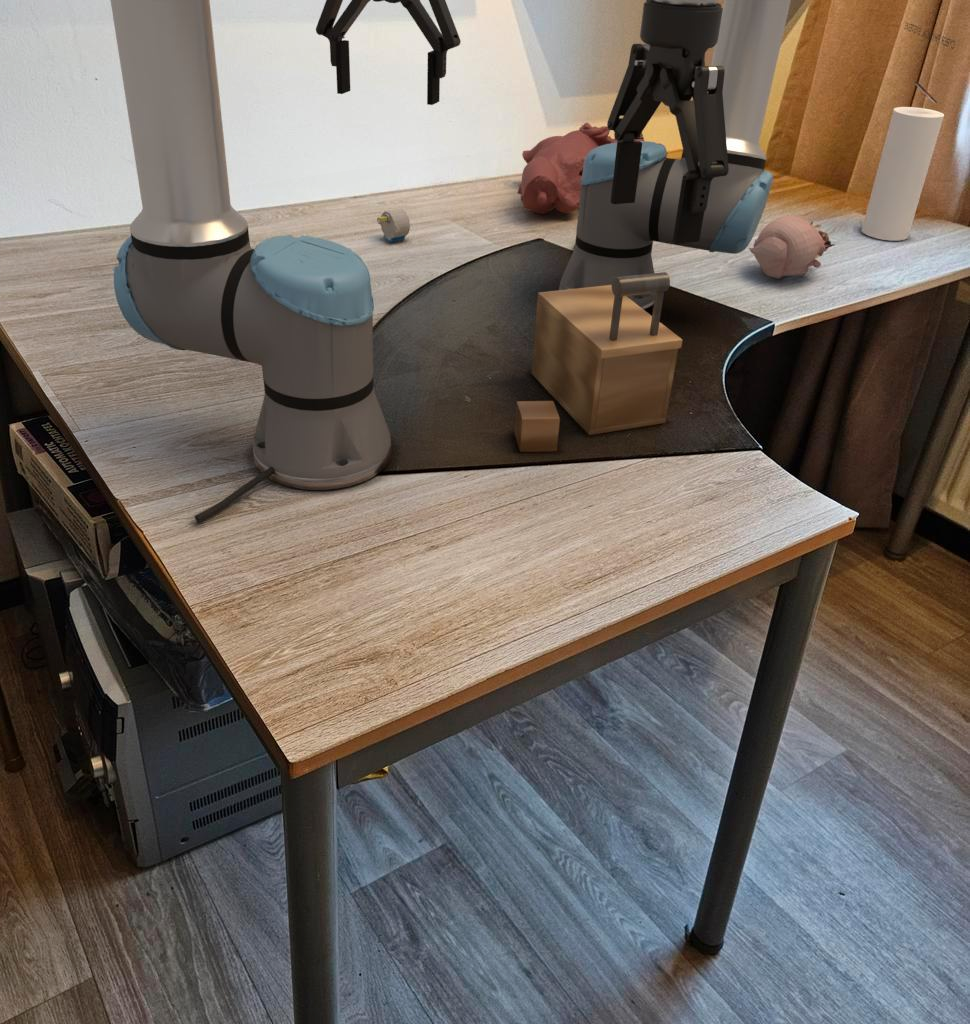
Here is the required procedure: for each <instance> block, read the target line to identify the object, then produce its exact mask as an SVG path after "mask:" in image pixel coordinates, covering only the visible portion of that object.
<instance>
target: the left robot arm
mask: <svg viewBox="0 0 970 1024" xmlns="http://www.w3.org/2000/svg"><path fill="white" fill-rule="evenodd" d="M343 1H344V0H325V3H324V5H323V8H322V11H321V13H320V16H319V19H318V22H317V24H316V27H315V33H316V34H317V35H318V36H323V37H324V38H326V39H327V40H328V42H329V54H330V56H329V57H330V65H331V67H335V70H336V71H335V72H336V94H339V95H343V94H346V93H349V92H351V67H350V66H351V63H350V41H349V40H345V38H346V36H345V35H347V33H348V31H349V30H350V29H351V27H352V26H353V24H354V23H355V21H356V20H357V19H358V18H359V16H360V14H361V13H362V12H363V10H364V9H365V8H366V6H367V5H368V4H369V3H370V2H371V1H372V2H377V3H380V2H384V1H385V2H387V3H389V4H398V3H400V4H401V5H402V7H403V8H405V9H406V10H407V12H408V13H409V15H410V17H411V18H412V20H413V21H414V22H415V24H416V26H417V27H418V29H419V31H420V32H421V33H422V35H423V36H424V38H425V39H426V40H427V43H428V44H429V46H430V47H431V48H432V50H431V51H428V52H427V74H426V75H427V79H426V80H427V85H426V87H427V88H426V105H429V106H433V105H435V104H438V103H440V93H441V92H440V91H441V90H440V89H441V87H440V86H441V83H440V81H441V79H443V78H445V77H446V74H447V54H448V51H449V50H451V49H454V48H457V47H459V46H460V45H461V42H462V41H461V38H460V35H459V33H458V30H457V27H456V24H455V22H454V19H453V17H452V14H451V11H450V9H449V7H448V4H447V1H446V0H428V2H429V5H430V8H431V10H432V13H433V15H434V18H435V21H436V23H437V25H438V26H437V25H436V23H435V22H434V20H433V19H432V17H431V15H429V13H428V11H427V9H426V8H425V6H424V5H423V3H422V2H421V0H351V1H350V2H349V3H348V5H347V6H346V8H345V9H344V11H343V12H342V14H341V15H340V16H339V18H338V19H337V17H338V14H339V12H340V9H341V6H342V4H343ZM110 6H111V12H112V19H113V20H112V21H113V27H114V31H115V39H116V45H117V52H118V59H119V64H120V70H121V77H122V84H123V90H124V96H125V97H124V98H125V103H126V110H127V116H128V122H129V123H128V124H129V129H130V136H131V142H132V149H133V156H134V161H135V169H136V175H137V180H138V187H139V194H140V199H141V206H142V210H141V211H140V212H139V214H138V215H137V216H136V217H135V218H134V220H133V221H132V222H131V224H130V225H129V232H130V236H128V237H127V238H126V239H125V240H124V241H123V243H122V244H121V246H120V247H119V249H118V252H117V256H116V260H117V261H118V265H117V266H114V268H113V288H114V294H115V298H116V302H117V305H118V307H119V310H120V312H121V315H122V316H123V318H124V319H125V321H126V323H127V324H128V325H129V327H130V328H131V329H133V331H134V332H136V333H137V334H138V335H139V336H141V337H143V338H144V339H145V340H148V341H150V342H154V343H157V344H161V345H164V346H167V347H169V348H171V349H174V350H178V351H191V352H197V353H202V354H207V355H211V356H216V357H222V358H226V359H231V360H236V361H242V362H248V363H251V364H252V363H253V364H257V365H259V366H261V370H262V379H263V388H264V390H263V391H264V396H263V400H262V404H261V408H260V412H259V415H258V419H257V423H256V427H255V430H254V434H253V439H252V441H253V442H252V455H253V460H254V464H255V467H256V468H257V470H258V471H259V472H260V474H257V475H256V476H255V477H253V478H252V479H251V480H249V481H248V482H246V483H245V484H243V485H242V486H240V487H239V488H238V489H236V490H235V491H233V492H232V493H230V494H229V495H228V496H227V497H225V498H224V499H221V500H220V501H219V502H217V503H216V504H215V505H213V506H211V507H209V508H207V509H205V510H203V511H201V512H200V513H198V514H195V515H194V520H195V521H196V522H197V523H201V522H202V521H204V520H206V519H208V518H210V517H212V516H214V515H215V514H217V513H219V512H220V511H222V510H223V509H225V508H227V507H228V506H230V505H231V504H232V503H233V502H235V501H237V500H238V499H239V498H240V497H242V496H243V495H245V494H246V493H247V492H249V491H251V490H252V489H254V488H255V487H256V486H258V485H259V484H261V483H262V482H264V481H265V480H266V479H269V480H271V481H273V482H275V483H278V484H280V485H283V486H286V487H290V488H295V489H301V490H312V491H314V490H315V491H323V490H327V491H328V490H337V489H342V488H348V487H351V486H355V485H358V484H361V483H363V482H366V481H368V480H370V479H373V478H374V477H375V476H377V475H378V474H380V473H381V472H382V471H383V470H384V469H385V468H386V467H387V466H388V464H389V463H390V461H391V458H392V438H391V432H390V430H389V427H388V424H387V422H386V419H385V417H384V413H383V411H382V408H381V406H380V403H379V400H378V398H377V395H376V393H375V385H374V320H373V319H374V318H373V317H374V315H373V314H374V308H375V301H374V297H373V292H372V283H371V275H370V270H369V267H368V266H367V264H366V263H365V262H364V260H363V259H362V258H361V257H360V256H359V254H357V253H356V252H355V251H353V250H352V249H351V248H348V247H346V246H345V245H343V244H340V243H338V242H335V241H331V240H329V239H324V238H322V237H317V236H310V235H300V236H299V237H296V236H293V235H288V234H287V235H279V236H273V237H269V238H265V239H264V240H262V241H260V242H259V243H258V244H257V245H255V247H254V248H253V247H251V242H250V241H251V240H250V233H249V223H248V220H247V219H246V218H245V216H243V215H242V214H240V213H239V212H238V211H237V210H236V209H234V207H233V206H232V203H231V194H230V185H229V183H230V182H229V175H228V174H229V173H228V165H227V156H226V155H227V154H226V146H225V137H224V129H223V128H224V127H223V118H222V117H223V115H222V106H221V97H220V88H219V78H218V67H217V59H216V57H217V56H216V49H215V40H214V30H213V29H214V28H213V21H212V20H213V19H212V11H211V2H210V0H110ZM336 19H337V21H336Z"/></svg>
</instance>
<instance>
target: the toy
mask: <svg viewBox="0 0 970 1024" xmlns="http://www.w3.org/2000/svg"><path fill="white" fill-rule="evenodd" d="M822 229H823V227H822V224H819V223H818V222H817V221H811V222H808V220H806V219H804V218H801V217H799V216H794V215H783V216H778V217H776V218H775V219H773V220H772V221H770V222H769V223H767V225H765V227H763V228H762V230H761V231H760V232H759V235H758V236H757V238H756V239H754V242H753V247H748V250H749V252H750V253H751V254H753V255H754V258H755V260H756V262H757V263H758V264H759V267H760V269H761V271H762V272H763V273H764V274H765V275H766V276H767V277H770V278H776V279H781V278H782V277H784V276H786V277H790V276H793V277H794V276H795V277H797V278H799V275H801V276H805V275H807V274H808V273H809V268H810V267H814V268H820V267H821V266H822V263H821V262H820V261H819V260H818V258H821V257H822V256H823V254H824V253H825V252H827V251H828V250H829V248H831V247H834V246H836V244H834V243H832V242H831V241H830V236H829V233H828V231H826V230H825V231H823V230H822Z"/></svg>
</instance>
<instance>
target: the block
mask: <svg viewBox="0 0 970 1024" xmlns="http://www.w3.org/2000/svg"><path fill="white" fill-rule="evenodd" d="M560 422H561V418H560V415H559V413H558V410H557V407H556V405H555V401H554V400H534V401H533V400H526V401H525V400H524V401H523V400H522V401H516V409H515V423H514V424H515V425H514V436H515V439H516V443H517V446H518V450H519V452H520V453H536V452H537V453H541V452H557V451H558V442H559V434H560V432H559V431H560Z"/></svg>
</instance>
